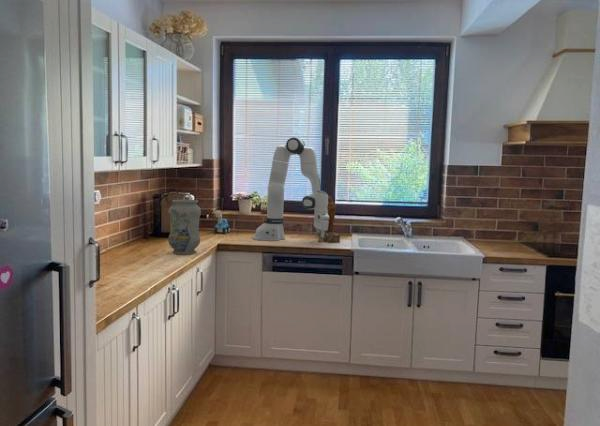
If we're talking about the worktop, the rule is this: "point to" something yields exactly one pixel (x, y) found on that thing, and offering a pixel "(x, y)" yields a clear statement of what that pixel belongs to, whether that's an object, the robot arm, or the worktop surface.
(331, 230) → the sculpture
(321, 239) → the beech peg
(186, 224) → the vase
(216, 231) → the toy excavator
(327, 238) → the walnut seat board
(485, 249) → the worktop surface
